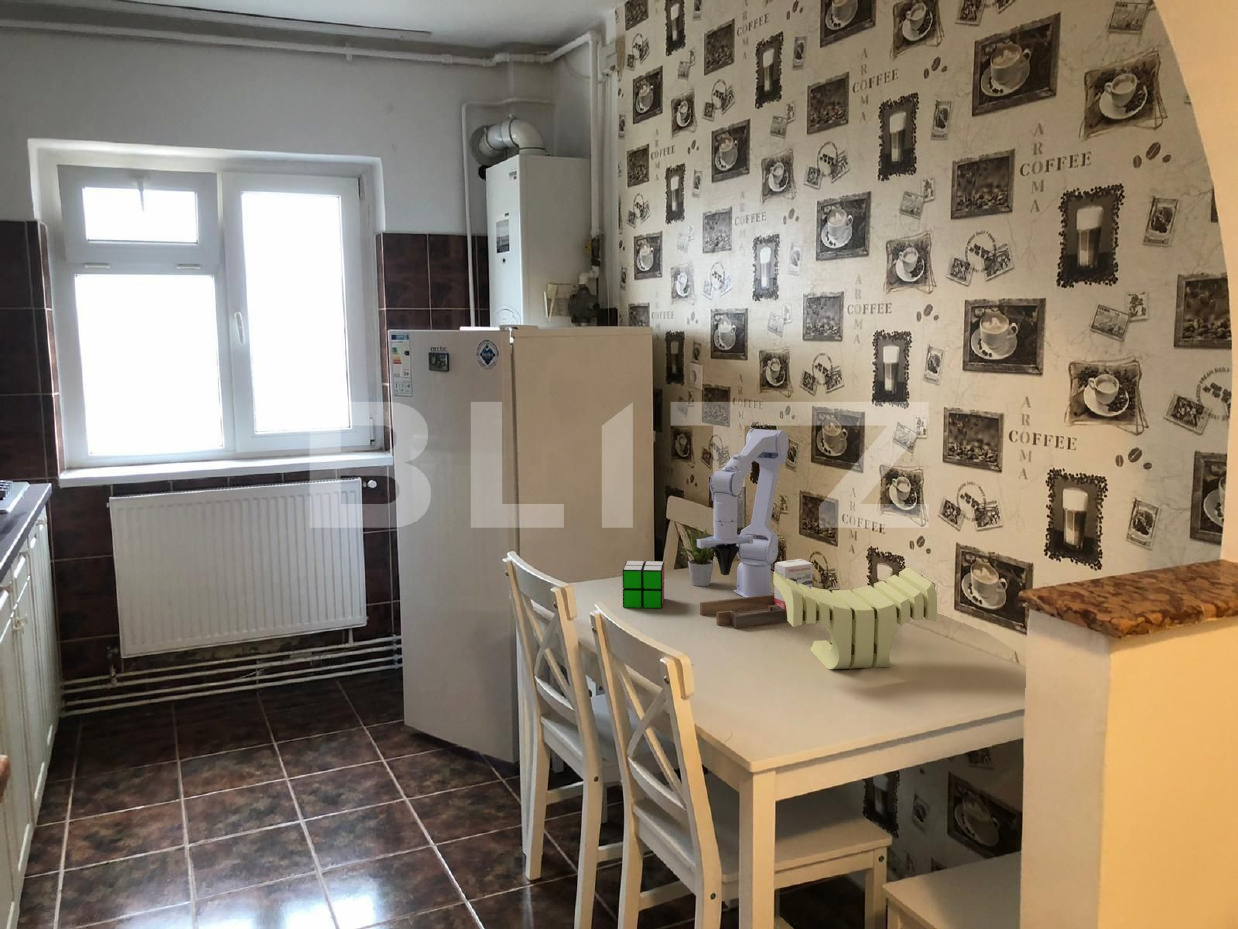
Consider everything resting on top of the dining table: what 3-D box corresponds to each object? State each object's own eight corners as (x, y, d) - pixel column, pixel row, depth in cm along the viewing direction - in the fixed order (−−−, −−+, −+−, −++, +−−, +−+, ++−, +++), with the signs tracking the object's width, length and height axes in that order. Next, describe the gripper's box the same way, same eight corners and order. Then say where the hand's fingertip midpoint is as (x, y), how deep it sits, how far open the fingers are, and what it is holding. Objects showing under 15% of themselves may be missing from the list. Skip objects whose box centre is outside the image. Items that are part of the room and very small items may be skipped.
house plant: (739, 581, 274) (740, 524, 272) (717, 593, 263) (718, 533, 260) (694, 575, 282) (694, 519, 279) (670, 586, 270) (670, 527, 268)
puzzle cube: (664, 598, 258) (664, 561, 257) (662, 609, 248) (662, 570, 247) (626, 597, 259) (626, 560, 258) (622, 608, 249) (622, 569, 248)
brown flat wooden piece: (700, 614, 244) (700, 602, 243) (808, 601, 255) (808, 589, 254) (726, 630, 231) (726, 617, 230) (839, 615, 242) (839, 603, 241)
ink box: (785, 612, 245) (785, 566, 243) (773, 607, 249) (774, 562, 247) (812, 608, 248) (813, 562, 247) (800, 603, 253) (801, 558, 251)
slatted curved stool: (792, 676, 200) (793, 590, 198) (772, 650, 216) (773, 571, 214) (934, 670, 203) (937, 586, 201) (904, 645, 219) (907, 567, 217)
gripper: (705, 525, 235) (705, 580, 237) (759, 520, 240) (758, 575, 242) (693, 519, 241) (692, 574, 243) (745, 515, 247) (745, 568, 248)
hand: (724, 574), depth 243 cm, fingers closed
